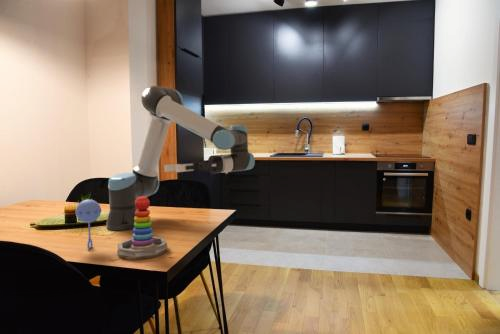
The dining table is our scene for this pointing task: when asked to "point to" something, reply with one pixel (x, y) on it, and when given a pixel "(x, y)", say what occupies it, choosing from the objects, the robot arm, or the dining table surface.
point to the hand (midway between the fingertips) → (170, 168)
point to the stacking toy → (142, 226)
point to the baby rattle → (88, 214)
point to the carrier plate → (142, 250)
